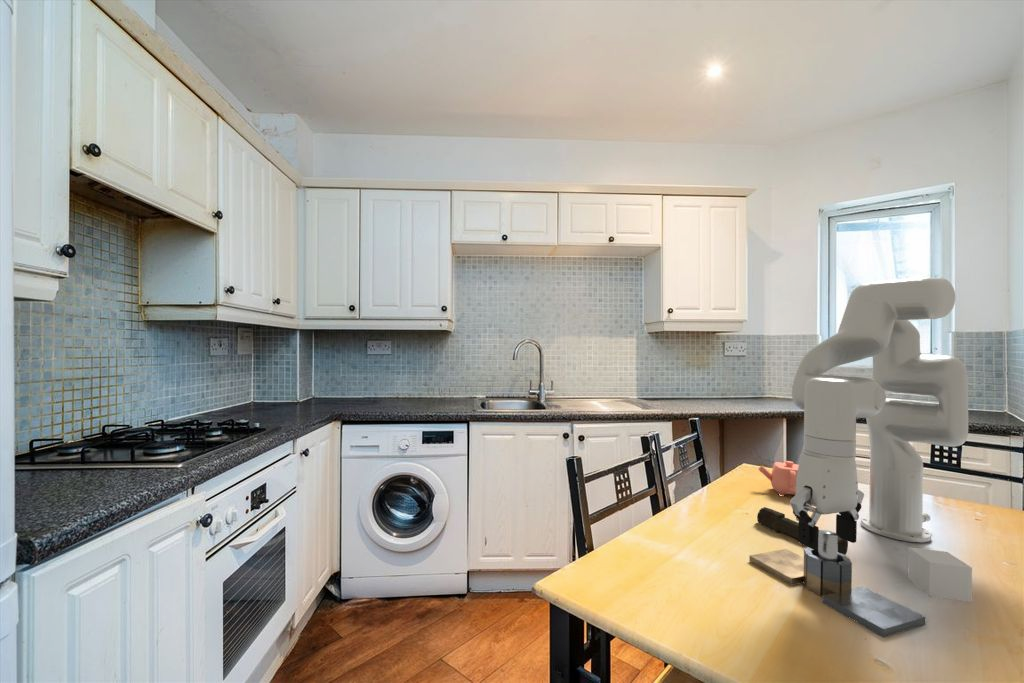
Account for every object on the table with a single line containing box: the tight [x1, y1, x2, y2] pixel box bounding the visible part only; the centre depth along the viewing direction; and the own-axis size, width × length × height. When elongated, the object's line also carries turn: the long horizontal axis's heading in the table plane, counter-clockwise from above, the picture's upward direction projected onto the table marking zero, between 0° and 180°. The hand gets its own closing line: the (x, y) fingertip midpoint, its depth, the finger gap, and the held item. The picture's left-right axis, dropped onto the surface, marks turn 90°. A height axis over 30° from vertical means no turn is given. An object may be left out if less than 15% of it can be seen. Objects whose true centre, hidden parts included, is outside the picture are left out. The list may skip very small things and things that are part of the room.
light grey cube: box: [907, 546, 973, 603], centre depth 78 cm, size 6×6×6 cm
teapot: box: [757, 460, 799, 496], centre depth 129 cm, size 12×12×10 cm
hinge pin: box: [818, 529, 838, 562], centre depth 77 cm, size 3×3×10 cm
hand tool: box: [756, 506, 849, 556], centre depth 98 cm, size 19×4×5 cm, turn 24°
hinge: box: [748, 547, 927, 638], centre depth 77 cm, size 10×24×6 cm, turn 19°
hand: (827, 542), depth 77 cm, fingers open, 9 cm apart
